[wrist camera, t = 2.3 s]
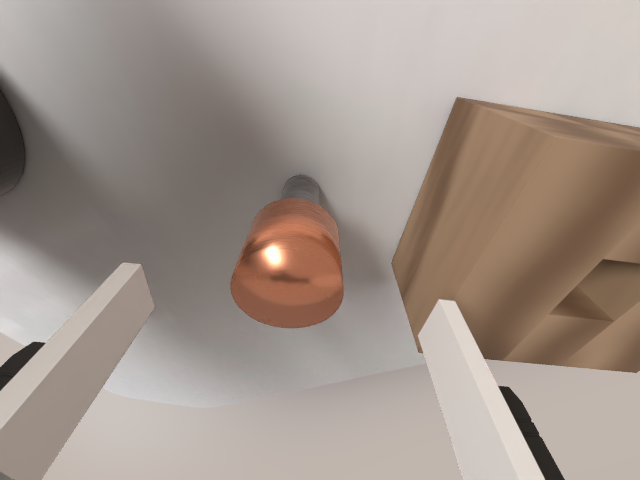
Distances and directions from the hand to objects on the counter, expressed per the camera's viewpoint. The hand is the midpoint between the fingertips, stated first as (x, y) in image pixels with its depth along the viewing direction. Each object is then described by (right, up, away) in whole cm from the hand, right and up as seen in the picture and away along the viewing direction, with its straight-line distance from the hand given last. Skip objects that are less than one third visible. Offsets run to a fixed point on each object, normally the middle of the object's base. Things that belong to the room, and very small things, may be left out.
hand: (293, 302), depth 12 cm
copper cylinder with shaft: (0, +7, +9) cm, 11 cm away
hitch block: (+17, +5, +9) cm, 20 cm away
